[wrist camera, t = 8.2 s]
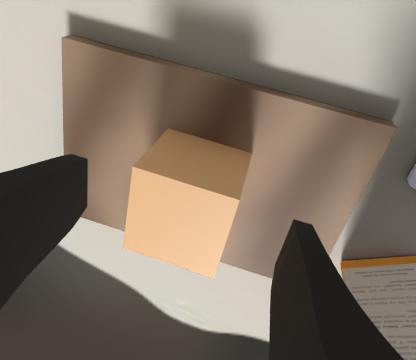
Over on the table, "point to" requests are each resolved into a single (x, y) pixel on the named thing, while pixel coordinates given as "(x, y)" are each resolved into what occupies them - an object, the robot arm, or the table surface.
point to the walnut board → (223, 134)
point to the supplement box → (387, 297)
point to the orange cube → (185, 200)
